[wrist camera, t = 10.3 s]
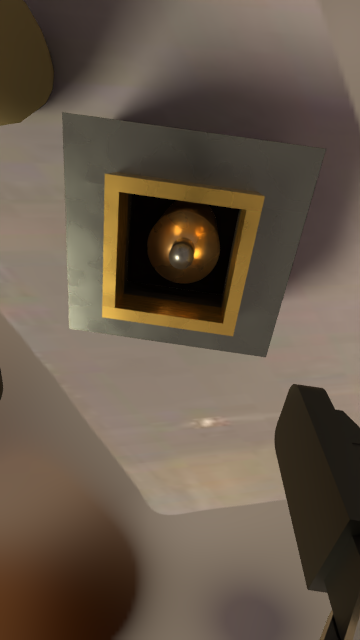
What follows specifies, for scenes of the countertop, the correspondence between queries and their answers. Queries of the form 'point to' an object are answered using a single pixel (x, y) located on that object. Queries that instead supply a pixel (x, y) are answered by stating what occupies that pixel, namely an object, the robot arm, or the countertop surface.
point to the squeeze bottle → (22, 63)
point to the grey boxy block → (193, 186)
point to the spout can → (184, 242)
